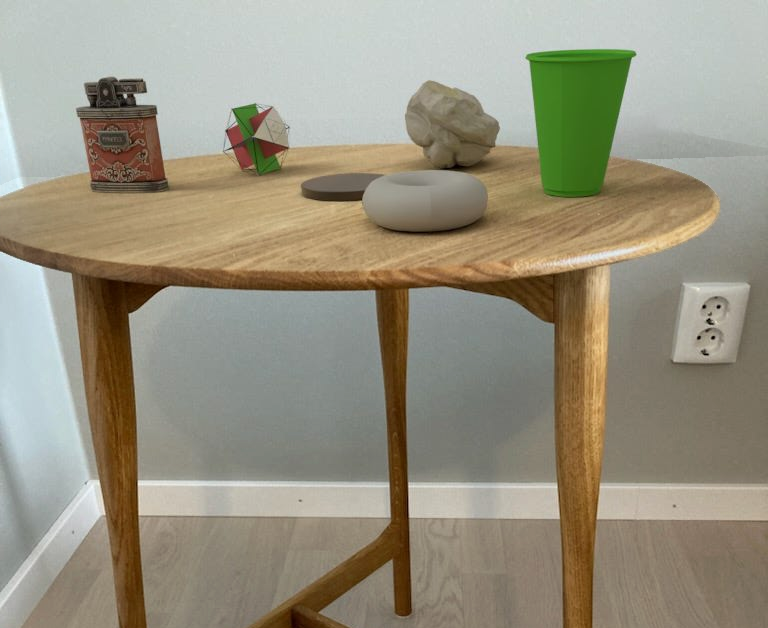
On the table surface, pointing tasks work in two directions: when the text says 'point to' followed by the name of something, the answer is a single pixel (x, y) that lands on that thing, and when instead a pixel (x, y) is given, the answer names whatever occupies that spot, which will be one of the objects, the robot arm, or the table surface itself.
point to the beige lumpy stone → (450, 125)
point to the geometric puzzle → (257, 138)
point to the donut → (425, 200)
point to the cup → (577, 115)
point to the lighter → (121, 138)
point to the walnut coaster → (338, 186)
